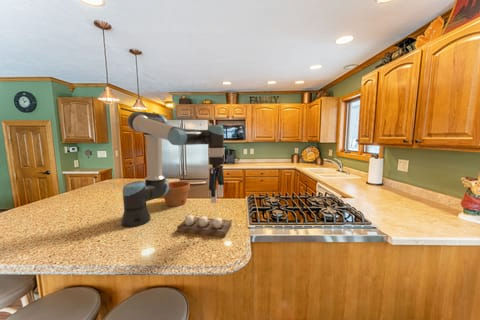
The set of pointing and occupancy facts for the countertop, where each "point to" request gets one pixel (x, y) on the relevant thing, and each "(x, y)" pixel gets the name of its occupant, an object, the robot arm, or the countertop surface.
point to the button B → (203, 221)
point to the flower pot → (177, 193)
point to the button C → (217, 222)
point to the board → (205, 228)
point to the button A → (189, 220)
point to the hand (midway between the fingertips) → (217, 199)
